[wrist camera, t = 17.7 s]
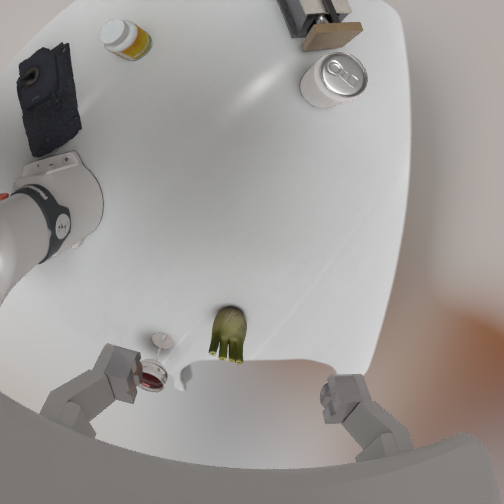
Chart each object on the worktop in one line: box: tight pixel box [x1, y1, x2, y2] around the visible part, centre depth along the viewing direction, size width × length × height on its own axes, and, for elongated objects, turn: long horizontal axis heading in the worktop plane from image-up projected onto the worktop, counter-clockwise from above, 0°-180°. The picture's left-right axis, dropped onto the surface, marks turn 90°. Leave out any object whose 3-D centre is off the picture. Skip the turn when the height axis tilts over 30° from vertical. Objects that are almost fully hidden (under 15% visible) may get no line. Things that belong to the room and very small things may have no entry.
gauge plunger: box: [302, 0, 363, 51], centre depth 23 cm, size 10×6×10 cm, turn 16°
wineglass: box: [138, 333, 173, 392], centre depth 50 cm, size 7×7×12 cm
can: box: [300, 52, 368, 108], centre depth 29 cm, size 6×6×12 cm
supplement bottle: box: [99, 19, 152, 60], centre depth 27 cm, size 5×5×10 cm
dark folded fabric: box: [17, 42, 82, 157], centre depth 32 cm, size 15×22×5 cm
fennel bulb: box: [209, 308, 247, 364], centre depth 47 cm, size 6×5×12 cm
